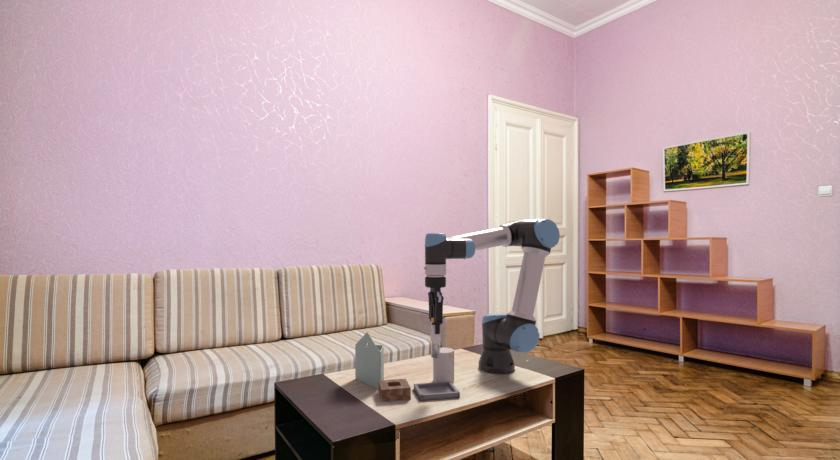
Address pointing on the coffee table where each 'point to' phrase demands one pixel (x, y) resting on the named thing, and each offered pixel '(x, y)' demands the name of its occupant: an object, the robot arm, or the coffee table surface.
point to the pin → (434, 344)
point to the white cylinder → (444, 366)
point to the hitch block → (394, 390)
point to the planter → (369, 361)
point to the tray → (436, 391)
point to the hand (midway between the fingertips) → (435, 341)
